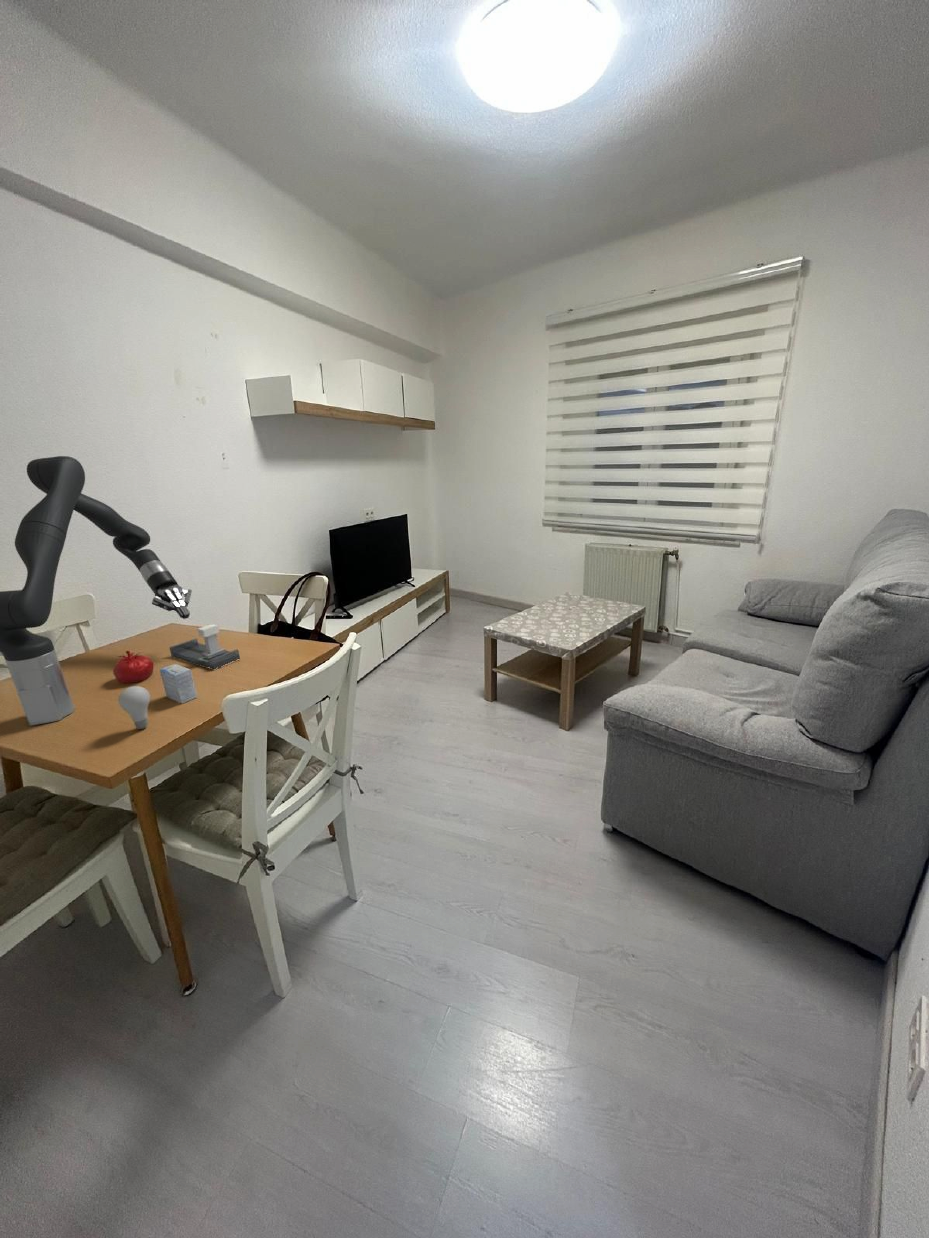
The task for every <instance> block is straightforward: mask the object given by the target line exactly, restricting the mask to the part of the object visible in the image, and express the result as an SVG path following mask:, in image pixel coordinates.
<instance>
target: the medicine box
mask: <svg viewBox="0 0 929 1238" xmlns="http://www.w3.org/2000/svg"><path fill="white" fill-rule="evenodd" d="M159 673H160V677H161V680H162V684H163V688H164V692H165V695H166V698H168V699H170V700H173V701H176V702H177V703H180V704H186V703H188V702H191V701H193V700H195V699H197V698H198V694H197V689H196V686H195V682H194V678H193V674H192V670H191V669H190V668H188V667H185V666H181V665H179V664H177V663H174V664H170V665H168V666H165V667H163V668H161V669H159Z"/></svg>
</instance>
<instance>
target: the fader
mask: <svg viewBox="0 0 929 1238" xmlns="http://www.w3.org/2000/svg"><path fill="white" fill-rule="evenodd" d="M197 631H198V635H199V637H203V641H204V643H205V644H204V645H206V650H207V652H204V653H201V656H202V657H205V658H208V659H209V658H212V657H215V656H217V655H220V654H223V653H225V652H226V651H227V650H226V648H222V647H220V646H219V645H220V644H219V641H218V637H217V634H219V633H220V628H219V625H217V624H214V623H212V624H208V625H206V626H202V627H199V628H197Z"/></svg>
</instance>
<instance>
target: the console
mask: <svg viewBox="0 0 929 1238" xmlns="http://www.w3.org/2000/svg"><path fill="white" fill-rule="evenodd" d="M198 640H199V639H197V638H194V639H191V640H187V641H184V642H180V643H177V644H174V645H172V646H169V647H168V649H169V651H170V655H171V658H174V657H175V658H174V659H178V660H180V661H185V662H188V663H190V662H191V664H193V663H194V664H193V665H196V664H198V665H197V666H200V665H201V666H200V667H203V666H204V667H203V668H206V667H210V668H212V669H216V668H217V667H221V666H223V665H225V664H228V663H230V662H232V661H236V660H237V659H240V660H241V657H240V651H239V649H238V648H237V649H234V650H231V651H229V650H226V652H225V653H223V654H220V655H217V656H215V657H212V658H209V659H208V658H205V657H202V656H201V653H204V652H207V650H206V645H205V644H203V643H200V642H199V641H198ZM236 662H237V661H236ZM223 667H224V666H223ZM221 668H222V667H221ZM212 669H211V670H212ZM216 670H217V669H216Z"/></svg>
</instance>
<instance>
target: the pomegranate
mask: <svg viewBox="0 0 929 1238" xmlns="http://www.w3.org/2000/svg"><path fill="white" fill-rule="evenodd" d="M125 653H126V655H120V656H118V658H121V659H119V660H118V661H117V662H116V664H115V666H114V667H113V669H112V672H113V673H112V674H113V675H114V678H115V679H116V681H117V682H119V683H120V684H121V683H122V684H132V683H138V682H142V681H144V680H146V679H148V678H150V677H151V676H152V674H153V672H154V667H155V665H154V661H153V660H151V659H150V658H149V657H147V656H145V655H140V652H138V653H136V654H135V652H131V651H130V650H125ZM143 653H145V652H142V654H143ZM133 654H135V655H133Z"/></svg>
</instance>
